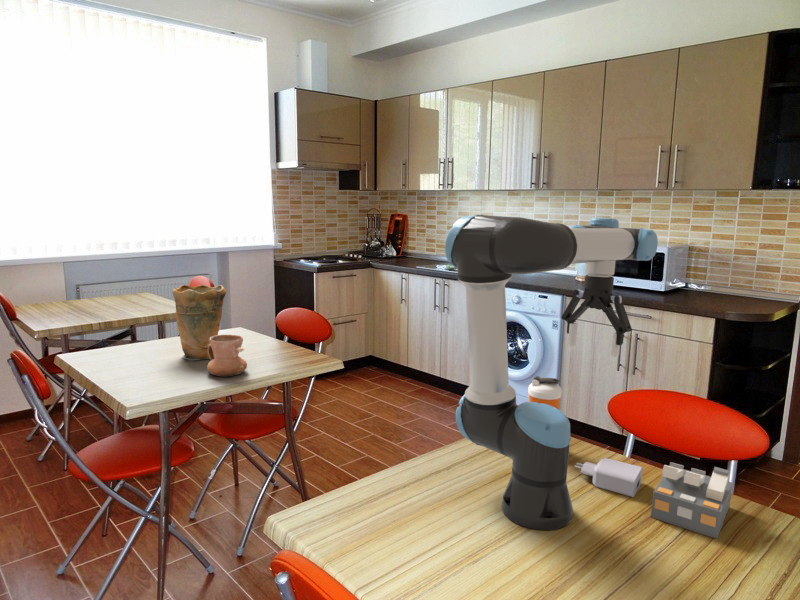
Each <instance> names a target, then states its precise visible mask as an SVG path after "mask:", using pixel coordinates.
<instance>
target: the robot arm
mask: <svg viewBox="0 0 800 600" xmlns="http://www.w3.org/2000/svg"><path fill="white" fill-rule="evenodd" d="M619 225H620V224H619V220H618V219H617V218H612V217H609V218H608V217H591V219H590V220H589V224H588V225H585V224H584V225H582V224H576V225H570V226H568V225H566V224H563V223H559V222H557V223H554V222H546V221H541V220H536V219H533V218H527V217H519V216H502V215H501V216H499V215H486V214H473V215H464V216H462V217H460V218H459V219H457V220H456V221H455V222H454V223H453V225H452V227H451V228H449V230H448V232H447V235H446V238H445V243H444V244H445V245H444V254H445V257H446V260H447V261H448V262H449V265H451V266H453V267H454V268H456V269H457V270H456V271H457V281H458V282H459V283H461V284H462V285H463V286H464V288H465V303H466V317H467V319H466V321H467V322H466V323H467V339H468V355H469V358H468V359H469V372H470V373H469V375H470V376H469V377H470V385H469V386H468V387H467V388H466V389H465V391H464V394H463V396H461V397H460V400H459V401H458V405H459V406H457V407H456V410H455V423H456V427H457V429H458V431H459V432H460V434H461V435H462V436H463V437H464V438H465V439H467V440H469V441H471V443H473V444H475V445H477V446H479V447H480V446H481V447H483V448H486V449H488V450H491V451H493V452H496V453H497V454H500V455H502V456H504V457H507V458H510V459H511V460H512V463H511V464H512V466H511V476H510V479H508V483H507V485H506V488H505V490H504V492H503V495H502V499H501V500H502V501H501V510H502V513H503V514H504V515H505V516H506V517H507V518H508V519H509V520H510V521H512V522H513V523H515V524H518V525H520V526H522V527H525V528H528V529H533V530H540V531H552V530H553V531H554V530H558V529H563V528H564V527H566V526H568V525H569V524H570V523H571V522H572V519H573V511H574V510H573V509H574V508H573V503H572V500H571V496H570V492H569V491H570V490H569V487H568V484H567V477H568V466H569V455H570V443H571V441H572V437H571V436H572V435H571V423H570V420H569V418H568V416H567V415H566V414H565V413H564V412H563V411H562V410H560V408H559V409H557V408H555V407H552V406H550V405H547V404H543V403H541V404H539V403H537V402H529V401H525V402H522V403H520V404H517V397H516V395H517V393H516V390H515V388H514V387H513V386H512V385H511V384H510V383H509V359H508V356H509V355H508V332H507V331H508V330H507V303H506V284H507V283H508V282H509V281H510V280H511V279H512V278H513V275H529V274H530V275H531V274H537V273H545V272H552V271H553V272H554V271H560V270H564V269H566V268H568V267H569V266H570V265H574V264H575V265H576V264H584V263H585V269H584V270H585V271H584V272H585V273H586V274H585V275H584V283H583V284H584V285H583V287H584V290H582V288H578V289H577V288H576V289H574V290H573V293H572V298H571V299H570V301H569V303H568V305H567V307H566V308H565V310H564V312H563V314H562V315H561V320H564V321H566V323H567V325H566V334H567V335H568V340H567V347H573V346H576V343H577V331H578V322H577V320H578V319H579V318H580V317H581V316H582V315H583V314H584V313H585V312H586V311H587V310H588V309H589V308H590V309H595V310H597V311H598V310H602V312H603V313H604V314H605V315H606V318H607V320H608V321H609V322H610V324H611V325H612V327H613V329H614V331H615V332H613V333H612V343H611V351H610V353H611V354H610V357H611V358H615V357H619V356H620V349H621V348H620V347H621V346H622V345H623V344H624V337H625V333H629V332H632V331H633V330H632V325H631V323H630V319H629V317H628V314H627V311H626V307H625V305H624V296H623V295H613V290H614V282H615V281H614V280H615V277H614V275H615V272H616V271H615V269H616V261H624V260H625V261H627V260H631V261H638V262H639V261H645V262H647V261H651V260H652V259H653V258H654V257H655V255H656V254H657V250H658V246H659V245H658V242H659V241H658V240H659V239H658V235H657V233H656V231H654V230H652V229H646V228H633V227H619ZM582 298H583V299H584V300H583V301H582V302H581V304H580V306H579V307H578V308H577V306H578V305H579V303H580V301H581V299H582ZM611 302H612V304H613V305H612V304H611ZM613 306H614V307H613ZM576 308H577V309H576ZM614 309H615V311H614Z"/></svg>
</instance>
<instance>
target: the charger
mask: <svg viewBox="0 0 800 600" xmlns="http://www.w3.org/2000/svg"><path fill="white" fill-rule="evenodd" d="M574 467H575V468H578V469H580V473H581V474H583V475H587V476H590V477H592V480H591V481H592V484H593V486H595V487H596V488H599V489H602V490H606V491H611V492H613V493H617V494H621V495H624V496H628V497H631V498H634V497H635V496H636V494H637V492H638V490H639V488H640V486H641V484H642V481H643V479H642V478H643V470H644V468H643V467H642V466H639V465H635V464H630V463H626V462H623V461H619V460H616V459H610V458H608V457H604V458H600V460H599V461H598V462H597V463H594V462H593V463H592V462H590V461H589V462H588V461H585V462H584V463H580V462H576V465H574Z"/></svg>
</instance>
